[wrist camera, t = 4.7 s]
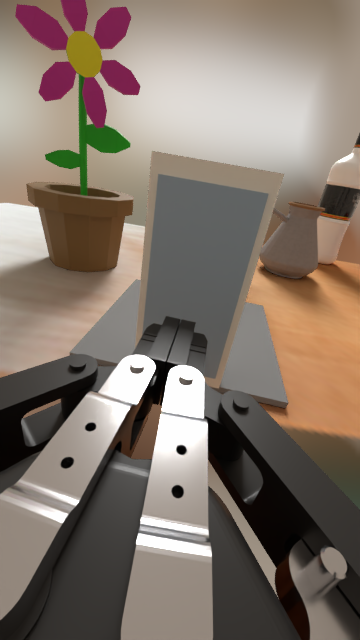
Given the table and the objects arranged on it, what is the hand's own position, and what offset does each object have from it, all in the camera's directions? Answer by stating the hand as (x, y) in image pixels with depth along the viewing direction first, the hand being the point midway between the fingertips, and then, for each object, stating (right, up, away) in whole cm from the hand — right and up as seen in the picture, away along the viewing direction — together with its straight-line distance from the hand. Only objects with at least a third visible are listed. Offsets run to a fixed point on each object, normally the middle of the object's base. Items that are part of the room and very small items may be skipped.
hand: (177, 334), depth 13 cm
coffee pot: (+17, +11, +41) cm, 45 cm away
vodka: (+35, +16, +56) cm, 68 cm away
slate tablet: (0, -3, +9) cm, 10 cm away
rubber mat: (+1, 0, +16) cm, 16 cm away
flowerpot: (-15, +10, +30) cm, 35 cm away
